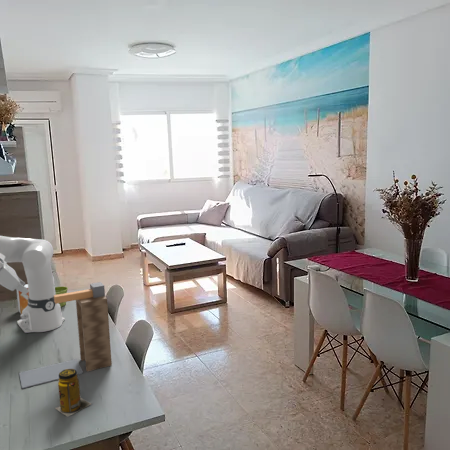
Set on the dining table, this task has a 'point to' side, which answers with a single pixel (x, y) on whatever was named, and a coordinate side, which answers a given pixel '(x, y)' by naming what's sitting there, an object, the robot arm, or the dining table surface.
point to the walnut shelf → (94, 332)
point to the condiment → (70, 393)
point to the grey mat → (47, 373)
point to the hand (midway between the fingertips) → (25, 288)
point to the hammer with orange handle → (81, 293)
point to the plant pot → (61, 291)
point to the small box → (22, 300)
